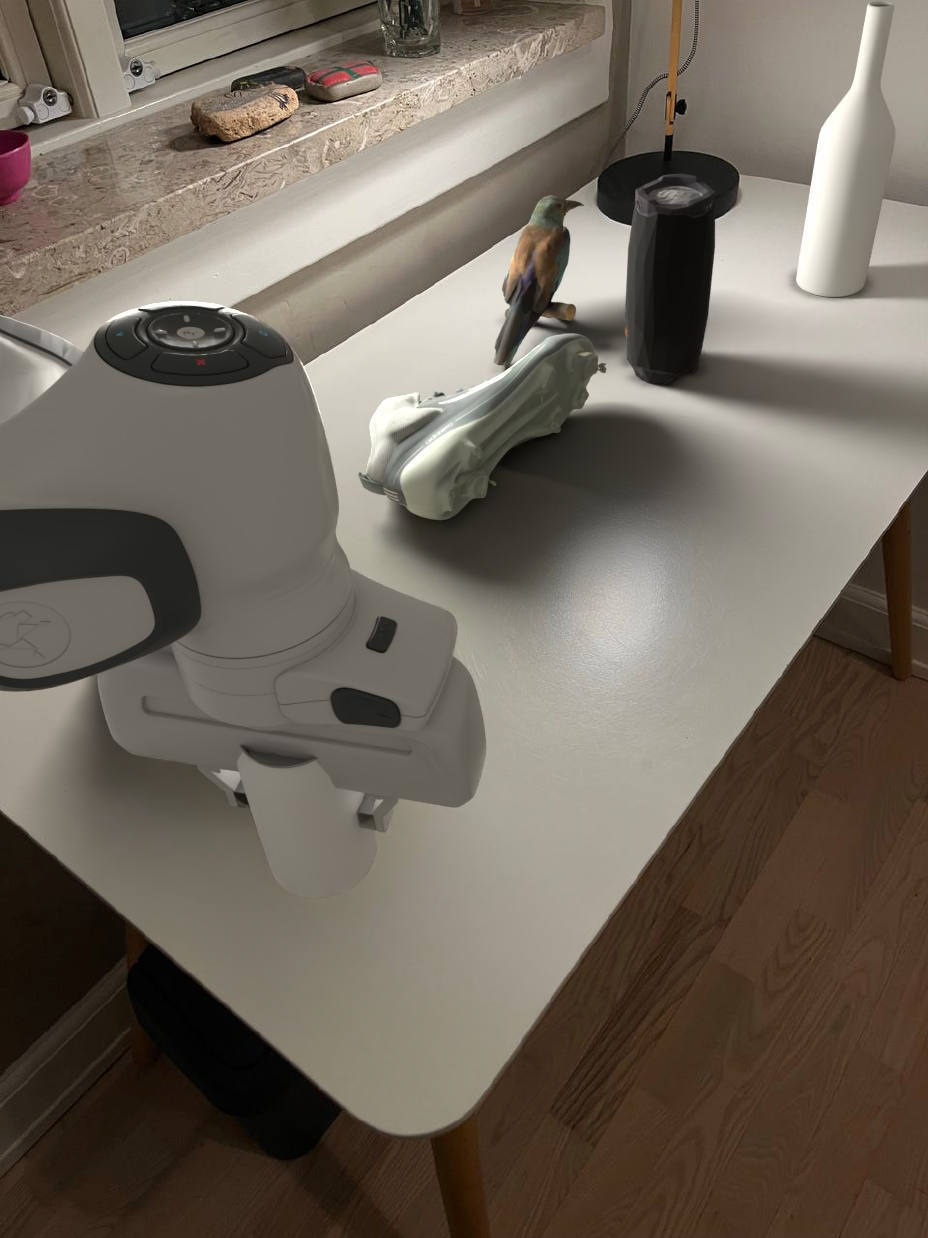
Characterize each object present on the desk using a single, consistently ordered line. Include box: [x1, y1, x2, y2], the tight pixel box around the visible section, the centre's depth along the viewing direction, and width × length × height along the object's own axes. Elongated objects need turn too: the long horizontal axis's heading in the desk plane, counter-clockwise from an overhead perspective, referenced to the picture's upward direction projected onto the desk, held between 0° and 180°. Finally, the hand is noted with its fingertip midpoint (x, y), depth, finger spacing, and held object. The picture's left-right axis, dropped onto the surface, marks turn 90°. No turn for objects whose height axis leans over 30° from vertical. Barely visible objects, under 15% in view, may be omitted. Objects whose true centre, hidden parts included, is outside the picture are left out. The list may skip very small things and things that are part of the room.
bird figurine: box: [493, 194, 585, 369], centre depth 118 cm, size 13×10×20 cm
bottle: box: [795, 0, 896, 298], centre depth 115 cm, size 8×8×30 cm
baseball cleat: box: [357, 333, 607, 521], centre depth 102 cm, size 10×29×15 cm
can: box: [237, 745, 377, 900], centre depth 58 cm, size 6×6×12 cm
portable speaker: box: [624, 173, 717, 385], centre depth 107 cm, size 9×9×20 cm
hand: (313, 809), depth 59 cm, fingers closed on can, 6 cm apart
